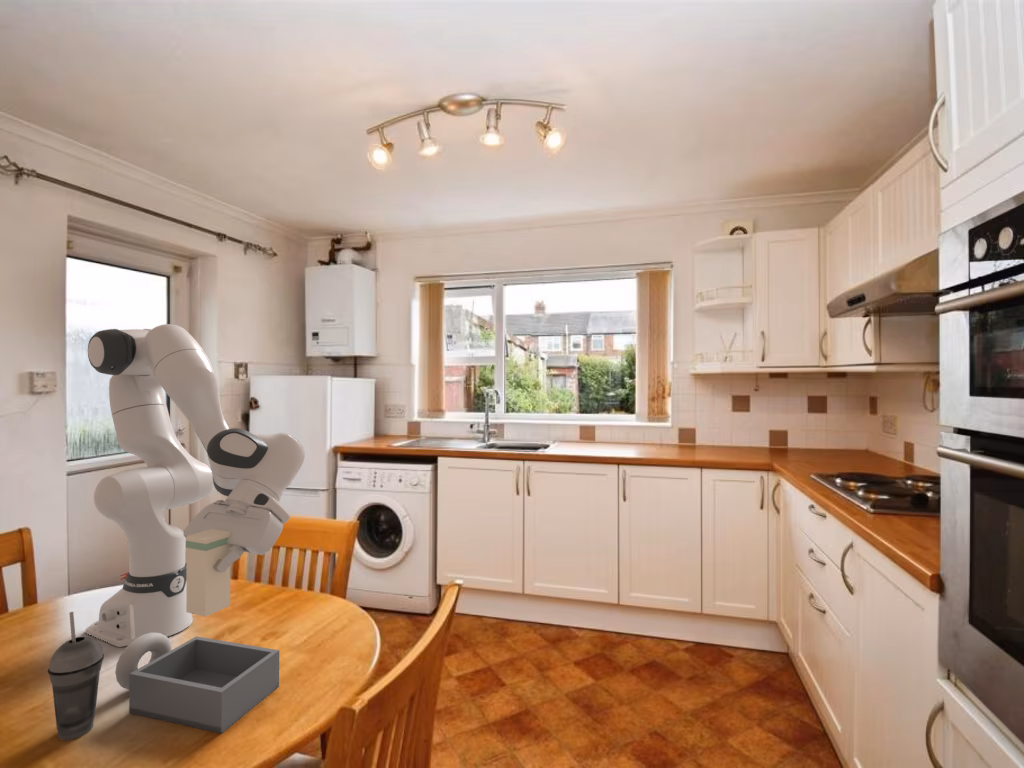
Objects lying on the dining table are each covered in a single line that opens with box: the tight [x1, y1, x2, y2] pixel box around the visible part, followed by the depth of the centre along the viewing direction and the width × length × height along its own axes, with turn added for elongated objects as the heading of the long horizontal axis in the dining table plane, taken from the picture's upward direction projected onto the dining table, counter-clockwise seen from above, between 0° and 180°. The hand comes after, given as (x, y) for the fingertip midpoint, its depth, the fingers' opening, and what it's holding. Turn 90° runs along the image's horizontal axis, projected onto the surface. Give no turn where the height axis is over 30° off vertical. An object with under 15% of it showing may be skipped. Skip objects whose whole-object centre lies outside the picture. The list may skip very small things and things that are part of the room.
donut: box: [114, 632, 173, 690], centre depth 99 cm, size 10×4×10 cm, turn 159°
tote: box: [128, 636, 280, 734], centre depth 95 cm, size 20×14×7 cm
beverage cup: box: [47, 611, 105, 741], centre depth 86 cm, size 7×7×20 cm
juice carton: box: [185, 529, 231, 618], centre depth 95 cm, size 5×5×14 cm
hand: (205, 568), depth 95 cm, fingers closed on juice carton, 5 cm apart
